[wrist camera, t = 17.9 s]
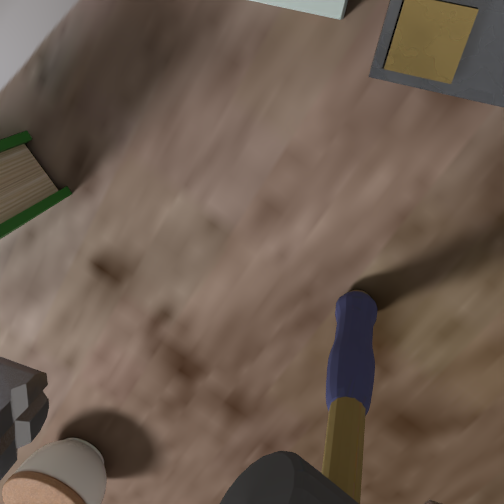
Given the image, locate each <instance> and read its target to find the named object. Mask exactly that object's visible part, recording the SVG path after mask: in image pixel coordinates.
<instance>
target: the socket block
mask: <svg viewBox="0 0 504 504" xmlns="http://www.w3.org/2000/svg"><path fill="white" fill-rule="evenodd" d="M435 1H440V2H445V3H450V4H455V5H460V6H465V7H470V8H475V9H479V10H478V13H477V16H476V19H475V21H474V24H473V27H472V29H471V32H470V35H469V37H468V40H467V43H466V45H465V48H464V51H463V53H462V56H461V59H460V61H459V64H458V67H457V69H456V72H455V75H454V78H453V80H452V83H451V84H448V83H443V82H439V81H434V80H430V79H425V78H421V77H416V76H412V75H408V74H403V73H399V72H394V71H390V70H385V69H384V66H385V63H386V62H384V60H385V57H386V54H387V50H388V47H389V43H390V40H391V37H392V33H393V30H394V27H395V23H396V20H397V17H398V13H399V10H400V7H401V3H402V0H390V3H389V6H388V10H387V13H386V17H385V20H384V24H383V27H382V31H381V34H380V38H379V41H378V45H377V48H376V52H375V55H374V59H373V62H372V66H371V69H370V74H369V77H372V78H376V79H380V80H385V81H389V82H394V83H398V84H403V85H407V86H411V87H416V88H420V89H425V90H429V91H434V92H438V93H442V94H447V95H451V96H456V97H460V98H465V99H469V100H473V101H478V102H482V103H487V104H491V105H496V106H500V107H504V0H435Z"/></svg>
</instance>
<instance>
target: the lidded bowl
mask: <svg viewBox="0 0 504 504" xmlns="http://www.w3.org/2000/svg"><path fill="white" fill-rule="evenodd" d="M106 483H107V477H106V470H105V467H104V459H103V456H102V454H101V453H100V452H99V450H98V449H97V448H96V447H94V446H93V445H92V444H90V443H89V442H87V441H85V440H82V439H79V438H66V439H64V440H59V441H54V442H51V443H49V444H46V445H44V446H43V447H41V448H39V449H38V450H37V451H35V452H34V453H33V454H32V455H31V456H30V457H28V458H27V459H26V460H25V461H24V462H23V463H22V465H21V466H20V467H19V468H18V469H17V471H16V472H15V473H14V474H13V475H12V476H11V477H10V478H9V479H8V480H7V481H6V483H5V484H4V486H3V490H2V496H3V501H4V503H5V504H101V503H102V501H103V498H104V495H105V490H106Z"/></svg>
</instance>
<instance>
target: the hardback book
mask: <svg viewBox="0 0 504 504" xmlns="http://www.w3.org/2000/svg"><path fill="white" fill-rule="evenodd" d="M30 140H32V137H31V136H30V134H29V133H28V132H27V131H24V132H21V133H18V134H16V135H13V136H10V137H7V138H4V139H1V140H0V239H1V238H3V237H4V236H6V235H8V234H9V233H11V232H12V231H14V230H16V229H17V228H19V227H20V226H22V225H24V224H25V223H27V222H28V221H30V220H31V219H33V218H35V217H36V216H38V215H39V214H41V213H43V212H44V211H46V210H47V209H49V208H50V207H52V206H54V205H55V204H57V203H58V202H60V201H62V200H63V199H65V198H66V197H68V196H70V195H71V194H72V192H71V191H70V190H69V188H68V187H67V186H66V187H64V188H63V189H61V190H59V191H58V189H57V188H56V186H55V185H54V184H53V182H52V181H51V180H50V178H49V177H48V175H47V174H46V173H45V171H44V170H43V169H42V167H41V166H40V165H39V163H38V162H37V160H36V159H35V158H34V156H33V155H32V154H31V152H30V151H29V150H28V148H27V147H26V145H25V144H26V143H28V142H29V141H30Z"/></svg>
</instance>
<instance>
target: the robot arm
mask: <svg viewBox="0 0 504 504" xmlns="http://www.w3.org/2000/svg"><path fill="white" fill-rule="evenodd" d="M47 385H48V383H47V374H46V373H44V372H41V371H38V370H36V369H33V368H30V367H27V366H25V365H22V364H19V363H17V362H14V361H11V360H8V359H6V358H3V357H0V480H1V479H2V478H3V477H4V475H5V474H6V473H7V472H8V470H9V469H10V468H11V467H12V465H13V464H14V463H15V462H16V461H17V449H18V448H20V447H22V446H24V445H26V444H29V443H31V442H32V441H33V439H34V438H35V437H36V435H37V434H38V433H39V432H40V430H41V428H42V426H43V424H44V422H45V420H46V418H47V414H48V409H49V399H48V398H47V397H46V395H45V394H44V392H43V389H44V388H45V387H46V386H47ZM425 504H442V503H438V502H435V501H432V500H429V501H427V502H425Z"/></svg>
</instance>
